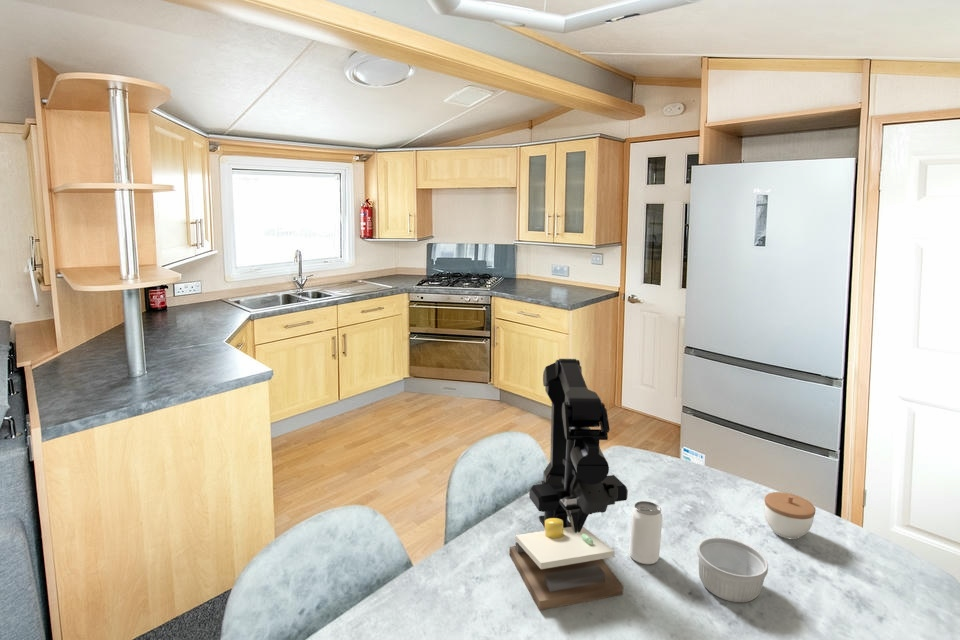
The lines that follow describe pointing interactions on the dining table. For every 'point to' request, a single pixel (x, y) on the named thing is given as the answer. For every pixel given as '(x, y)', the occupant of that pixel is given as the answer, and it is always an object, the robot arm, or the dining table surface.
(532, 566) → the walnut base
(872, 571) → the dining table surface
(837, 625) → the dining table surface
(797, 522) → the lidded jar
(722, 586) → the ramekin
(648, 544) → the can
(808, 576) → the dining table surface
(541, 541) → the plate
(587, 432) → the robot arm
